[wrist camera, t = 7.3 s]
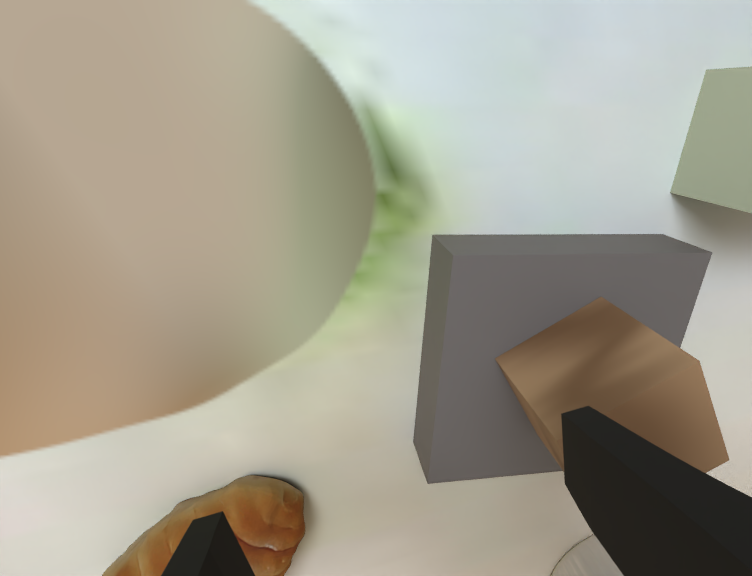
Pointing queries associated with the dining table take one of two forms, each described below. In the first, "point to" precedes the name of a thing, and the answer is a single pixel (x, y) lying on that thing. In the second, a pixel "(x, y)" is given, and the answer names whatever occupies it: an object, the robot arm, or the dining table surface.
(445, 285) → the charcoal slab
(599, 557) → the ramekin
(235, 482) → the pastry
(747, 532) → the robot arm
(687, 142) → the sage green cube
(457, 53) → the dining table surface
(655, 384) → the walnut cube
